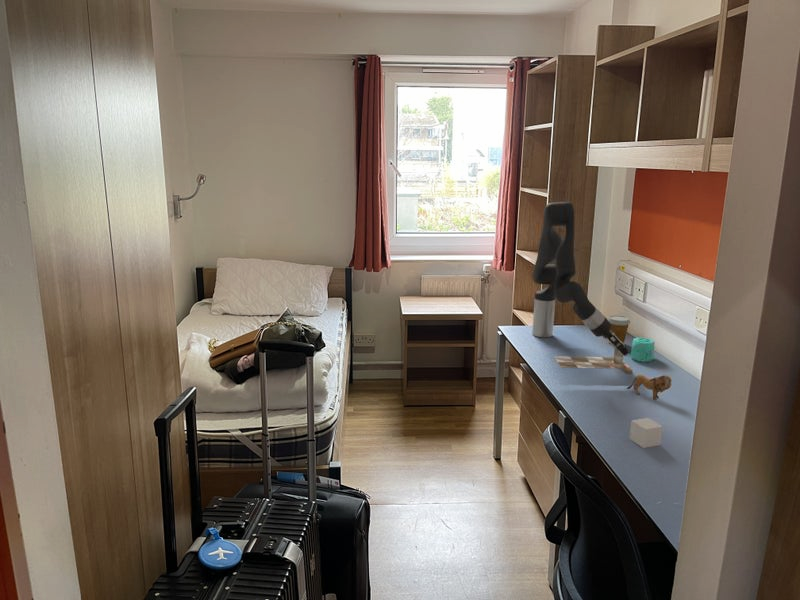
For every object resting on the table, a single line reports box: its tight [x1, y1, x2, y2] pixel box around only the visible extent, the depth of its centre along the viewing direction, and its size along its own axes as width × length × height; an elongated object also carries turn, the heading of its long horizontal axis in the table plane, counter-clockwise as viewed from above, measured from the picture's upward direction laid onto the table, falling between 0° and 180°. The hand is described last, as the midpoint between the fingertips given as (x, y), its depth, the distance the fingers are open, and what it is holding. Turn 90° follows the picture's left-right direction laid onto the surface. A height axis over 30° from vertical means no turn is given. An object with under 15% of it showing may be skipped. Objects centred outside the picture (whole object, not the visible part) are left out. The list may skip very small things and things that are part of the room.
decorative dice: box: [630, 337, 655, 363], centre depth 241 cm, size 8×8×8 cm
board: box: [553, 355, 633, 374], centre depth 233 cm, size 15×28×1 cm, turn 89°
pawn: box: [611, 341, 626, 368], centre depth 229 cm, size 5×5×10 cm
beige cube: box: [629, 417, 663, 449], centre depth 172 cm, size 6×6×6 cm
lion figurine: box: [626, 374, 672, 401], centre depth 204 cm, size 15×5×9 cm, turn 48°
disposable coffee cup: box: [607, 314, 631, 345], centre depth 259 cm, size 10×10×12 cm
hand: (622, 350), depth 229 cm, fingers open, 8 cm apart
